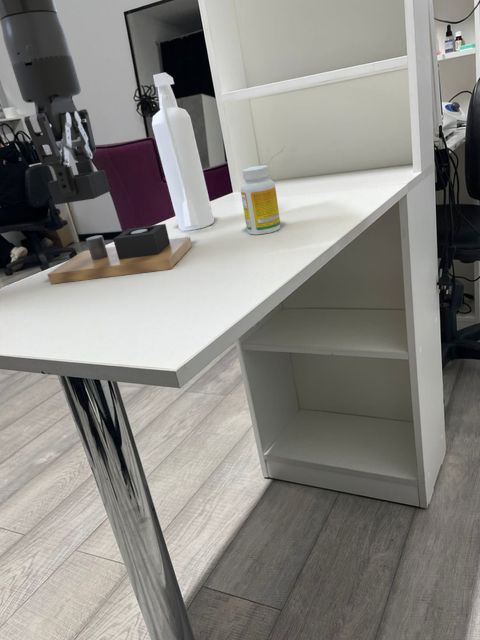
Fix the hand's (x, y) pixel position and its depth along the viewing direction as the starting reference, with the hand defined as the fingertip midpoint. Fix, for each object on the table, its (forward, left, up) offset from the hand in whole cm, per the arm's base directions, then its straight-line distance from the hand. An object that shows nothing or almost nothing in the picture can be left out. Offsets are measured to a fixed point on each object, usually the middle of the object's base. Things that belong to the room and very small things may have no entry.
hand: (81, 191), depth 76 cm
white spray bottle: (+9, +20, -11) cm, 25 cm away
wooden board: (+3, 0, -11) cm, 12 cm away
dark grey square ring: (0, 0, -1) cm, 1 cm away
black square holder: (+7, 0, -10) cm, 12 cm away
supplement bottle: (+23, +10, -11) cm, 28 cm away
